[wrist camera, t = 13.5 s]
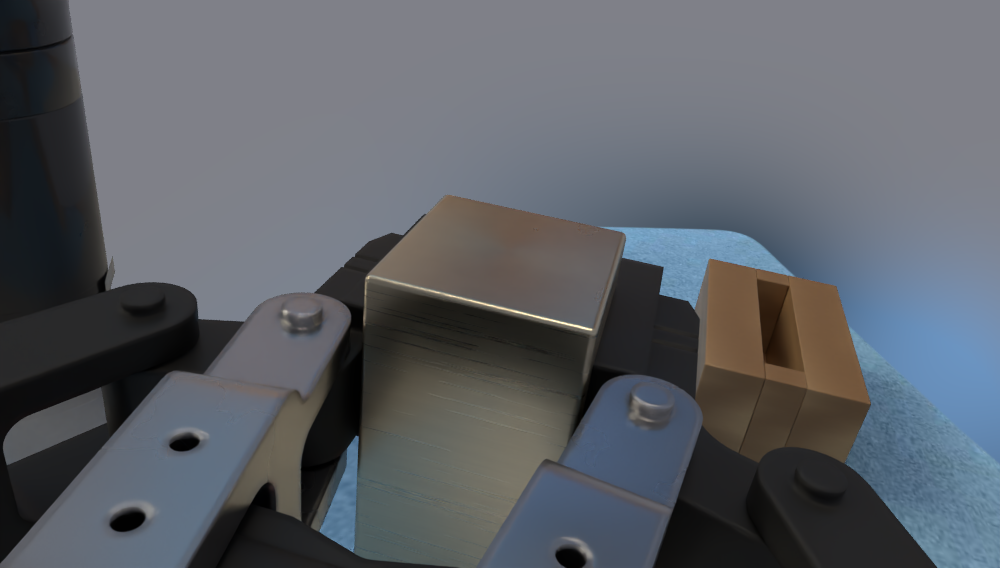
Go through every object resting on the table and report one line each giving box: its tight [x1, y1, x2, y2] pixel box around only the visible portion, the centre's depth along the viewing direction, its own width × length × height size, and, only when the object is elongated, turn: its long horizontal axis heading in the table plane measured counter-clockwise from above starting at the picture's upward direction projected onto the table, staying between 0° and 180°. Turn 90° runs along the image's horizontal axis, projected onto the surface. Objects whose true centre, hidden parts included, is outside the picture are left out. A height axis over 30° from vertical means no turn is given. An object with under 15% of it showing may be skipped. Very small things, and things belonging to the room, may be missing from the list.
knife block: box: [694, 259, 871, 463], centre depth 44 cm, size 8×13×6 cm, turn 165°
